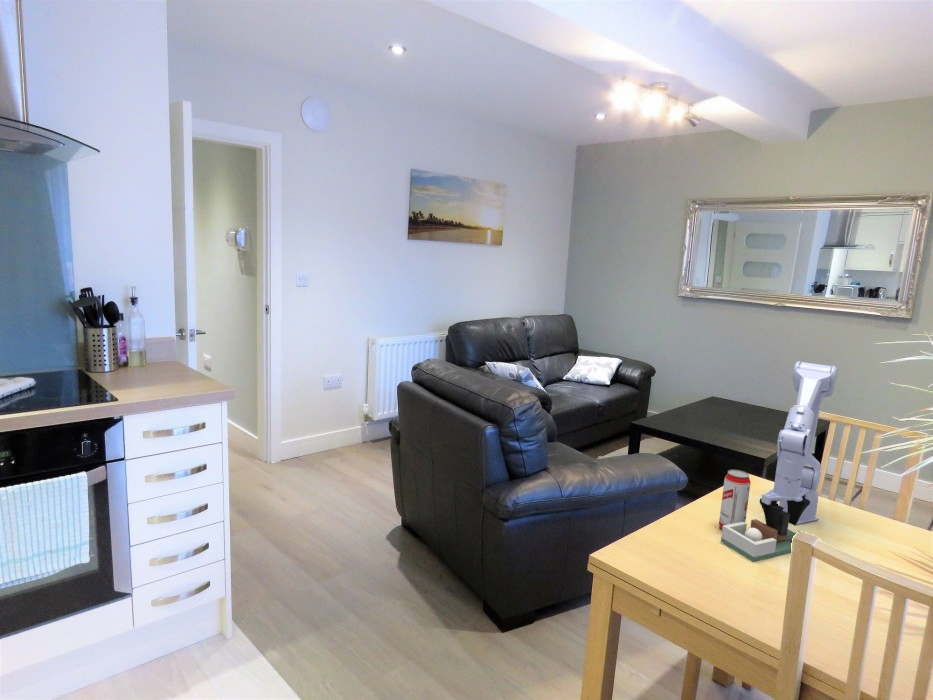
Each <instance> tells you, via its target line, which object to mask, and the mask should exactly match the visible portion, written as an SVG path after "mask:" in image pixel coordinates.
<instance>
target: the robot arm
mask: <svg viewBox="0 0 933 700" xmlns="http://www.w3.org/2000/svg"><path fill="white" fill-rule="evenodd" d="M837 377H838V368H837V366H836V365H827V364H826V365H824V364H820V363H819V364H818V363H813V362H812V363H810V362H806V361H805V362H803V361H800V360H798V361H796V363H795V364H794V367H793V372H792V381H793V383H792V384H793V386H794V389H795V391H797V392H798V393H797V394H798V395H797V401H796V404H795V406H792V407H790V409H789V411H788V414H787V418H786V421H785V425H784V427H783V429H780V431H779V433H778V436H777V437H778V438H777V441H776V442H777V447H776V448H777V453H776V457H777V463H776V470H775V478H774V484H773V488H772V489H771V490H769V491H768V492H766V493H763V494H762V495H761V498H759V505H760V506H761V508H762V511H763V514H764V518H765V519H764V520H765V524H766V525H768V526H770V527H772V528H774V529H776V526H777V522H778V518H779V516H780V513H781V512H782V510H783V511H785V512H787V513H789V514H790V518H789V524H790V525H793V526H794V527H795V526H797V525H801V524H806V523H810V522H814V521H818V520H819V518H818V517H817V510H818V502H819V494H818V492H817V490H818V487H819V484H820V479H821V469H822V465H821V463H820V461H819V460H818V459H816V457H815V456H814V455H813V454H812V453H813V448H814V442H815V438H816V437H815V436H816V433H817V425H818V423H819V421H818V420H819V417H820V410H821V406H822V403H823V401H824V399H825V398H827V397H832V396H833V393H834V392H835V386H836V381H837ZM778 502H779V503H778Z"/></svg>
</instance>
